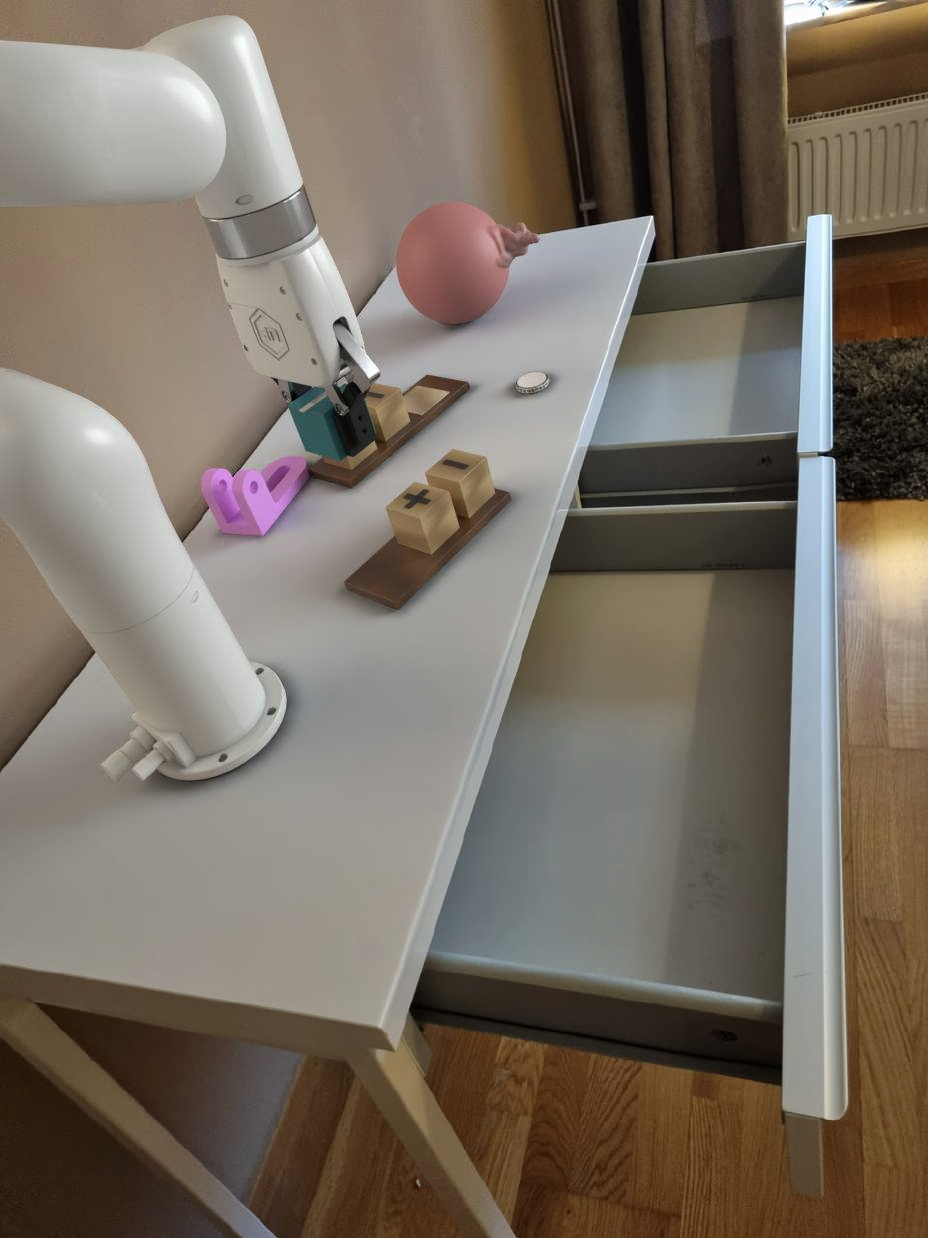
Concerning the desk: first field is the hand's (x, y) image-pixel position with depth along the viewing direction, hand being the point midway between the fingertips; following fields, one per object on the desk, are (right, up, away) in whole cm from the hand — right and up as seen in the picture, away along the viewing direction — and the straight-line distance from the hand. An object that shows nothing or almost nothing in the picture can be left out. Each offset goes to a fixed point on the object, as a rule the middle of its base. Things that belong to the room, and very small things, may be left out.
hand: (340, 440), depth 75 cm
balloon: (+13, +27, +49) cm, 58 cm away
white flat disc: (+19, +13, +31) cm, 39 cm away
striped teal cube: (0, 0, 0) cm, 0 cm away
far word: (+2, +7, +31) cm, 32 cm away
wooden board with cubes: (+7, -8, +13) cm, 17 cm away
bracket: (-11, -2, +26) cm, 29 cm away
